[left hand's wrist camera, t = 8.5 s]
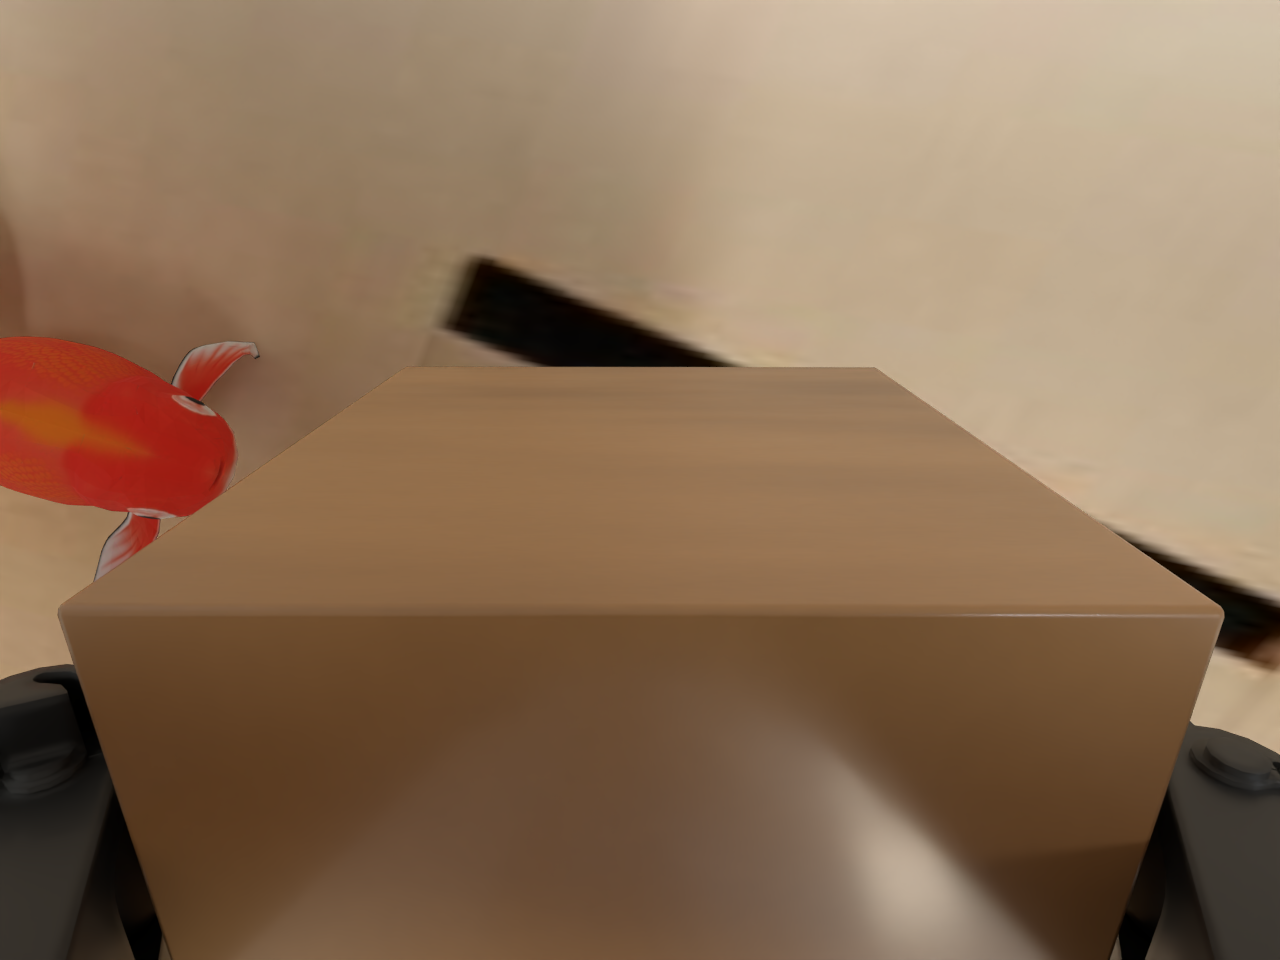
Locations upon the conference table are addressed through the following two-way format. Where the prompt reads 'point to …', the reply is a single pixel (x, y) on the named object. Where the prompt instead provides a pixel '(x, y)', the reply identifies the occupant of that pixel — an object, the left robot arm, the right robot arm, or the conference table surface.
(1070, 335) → the conference table surface
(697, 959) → the box
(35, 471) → the fish
